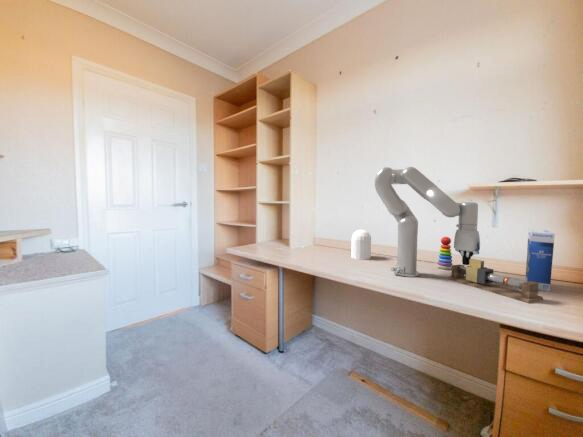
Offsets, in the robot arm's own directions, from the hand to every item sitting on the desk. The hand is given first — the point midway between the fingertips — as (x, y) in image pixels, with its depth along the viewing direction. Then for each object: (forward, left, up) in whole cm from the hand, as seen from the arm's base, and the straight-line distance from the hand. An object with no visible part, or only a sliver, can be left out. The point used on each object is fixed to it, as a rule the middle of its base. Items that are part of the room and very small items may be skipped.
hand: (466, 264), depth 123 cm
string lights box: (+23, -18, -9) cm, 30 cm away
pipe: (0, -11, -5) cm, 12 cm away
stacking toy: (+13, +20, -9) cm, 25 cm away
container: (-15, +62, -9) cm, 65 cm away
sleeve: (0, -5, -6) cm, 8 cm away
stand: (0, -11, -8) cm, 14 cm away
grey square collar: (0, -9, -6) cm, 11 cm away
